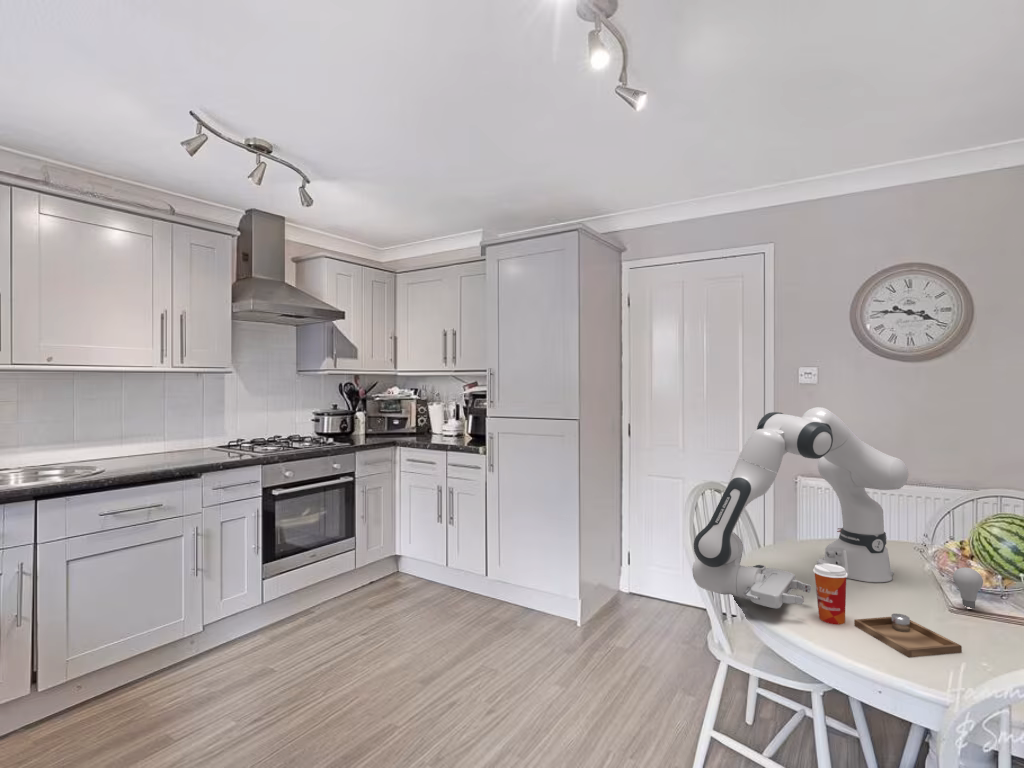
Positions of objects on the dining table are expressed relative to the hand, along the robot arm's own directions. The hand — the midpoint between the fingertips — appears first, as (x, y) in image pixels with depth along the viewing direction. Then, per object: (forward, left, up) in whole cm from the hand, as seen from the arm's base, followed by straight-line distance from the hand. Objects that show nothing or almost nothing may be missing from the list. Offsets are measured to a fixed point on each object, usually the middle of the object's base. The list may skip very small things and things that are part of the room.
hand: (807, 594), depth 140 cm
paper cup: (+4, +4, -6) cm, 8 cm away
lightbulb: (+3, +44, -6) cm, 44 cm away
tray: (+16, +13, -6) cm, 22 cm away
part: (+12, +16, -5) cm, 21 cm away
